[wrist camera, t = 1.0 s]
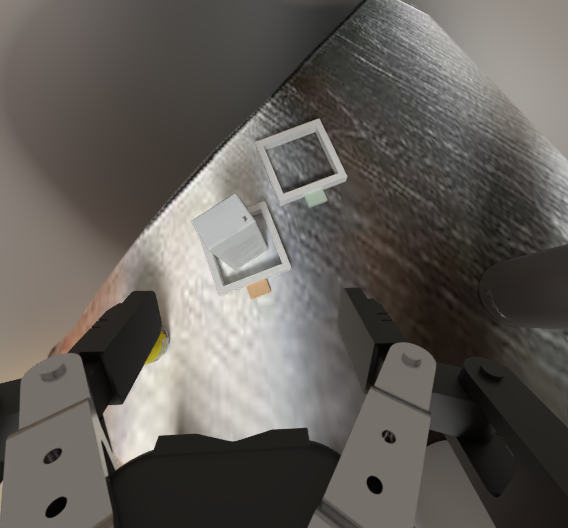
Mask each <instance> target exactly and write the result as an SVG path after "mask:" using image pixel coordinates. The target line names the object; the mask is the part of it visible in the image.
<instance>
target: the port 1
mask: <svg viewBox="0 0 568 528" xmlns="http://www.w3.org/2000/svg"><path fill="white" fill-rule="evenodd" d="M247 209H248V211H249V212H250V213H251V215H252V216H255V215H258V214H260V213H262V214H263V216H264V219H265V221H266V224H267V227H268V229H269V232H270V234H271V237H272V239H273V242H274V244H275V247H276V250H277V252H278V255H279V257H280V260H281V262H282V264H280V265H277V266H275V267H272V268H270V269H267V270H264V271H262V272H259V273H257V274H254V275H251V276H249V277H246V278H244V279H241V280H238V281H236V282H233V283H231V284H228V285H225V283H224V280H223V278H222V275H221V272H220V269H219V266H218V263H217V260H216V257H215V255H214V254H212V253H211V252H209V251H208V250H207V248H206V246H205V245H204V243H203V241H202V240H201V238H200V240H201V243H202V246H203V249H204V252H205V255H206V259H207V262H208V265H209V268H210V271H211V274H212V277H213V280H214V283H215V286H216V289H217V292H218V295H219V296H224V295H227V294H229V293H232V292H234V291H237V290H239V289H242V288H245V287H247V289H248V292H249V295H250V298H251V299H254V298H256V297H259V296H261V295H264V294H267V293H269V292H271V291H270V288H269V285H268V283H267V280H266V279H268V278H271V277H273V276H276V275H278V274H281V273H283V272H286V271H289V270H291V265H290V263H289V260H288V258H287V255H286V253H285V250H284V248H283V245H282V243H281V240H280V238H279V235H278V233H277V230H276V228H275V225H274V223H273V220H272V218H271V215H270V213H269V210H268V208H267V205H266V203H265V201H263V202H260V203H258V204H255V205H252V206H250V207H247ZM199 237H200V236H199Z"/></svg>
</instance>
